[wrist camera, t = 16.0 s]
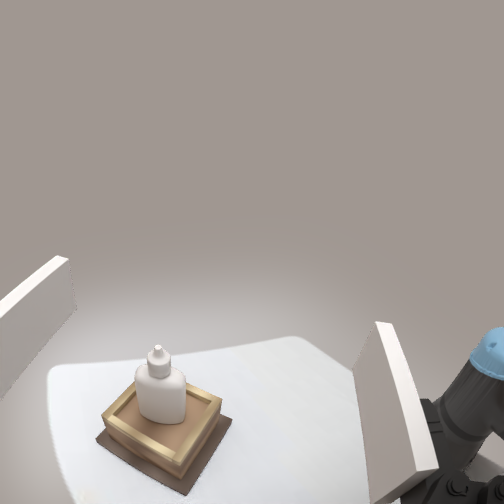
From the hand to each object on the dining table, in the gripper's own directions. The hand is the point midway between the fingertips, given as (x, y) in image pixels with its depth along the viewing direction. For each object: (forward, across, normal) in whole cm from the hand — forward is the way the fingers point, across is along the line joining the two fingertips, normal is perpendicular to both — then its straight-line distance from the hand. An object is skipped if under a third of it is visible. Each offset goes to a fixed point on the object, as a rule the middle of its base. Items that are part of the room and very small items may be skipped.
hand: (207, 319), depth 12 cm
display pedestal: (+11, -7, -32) cm, 34 cm away
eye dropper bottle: (+11, -7, -26) cm, 29 cm away
